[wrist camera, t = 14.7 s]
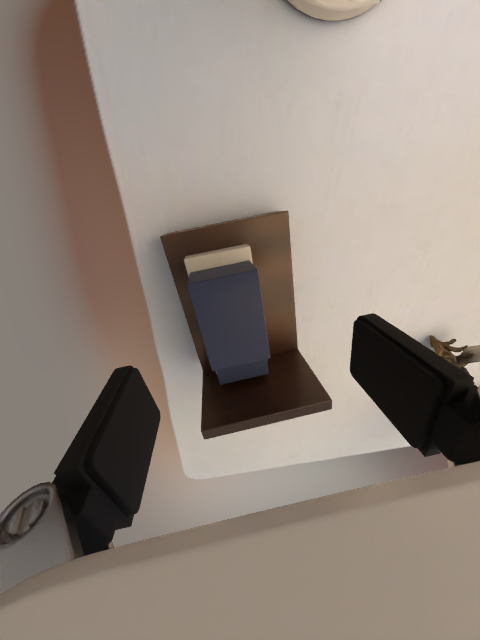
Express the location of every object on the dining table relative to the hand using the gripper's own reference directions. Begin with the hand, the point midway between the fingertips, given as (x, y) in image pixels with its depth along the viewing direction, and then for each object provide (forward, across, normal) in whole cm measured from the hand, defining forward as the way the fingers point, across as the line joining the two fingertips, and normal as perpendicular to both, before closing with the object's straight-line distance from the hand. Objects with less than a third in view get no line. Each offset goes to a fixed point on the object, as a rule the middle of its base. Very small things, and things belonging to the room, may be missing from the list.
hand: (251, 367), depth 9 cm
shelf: (+14, 0, +2) cm, 14 cm away
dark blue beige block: (+11, 0, +2) cm, 11 cm away
